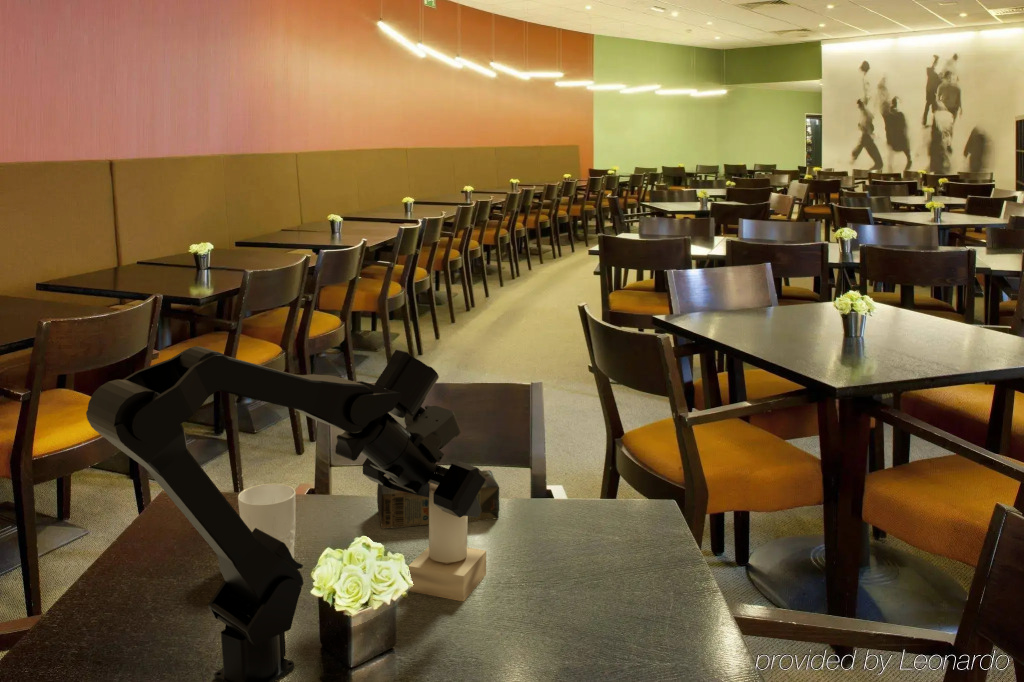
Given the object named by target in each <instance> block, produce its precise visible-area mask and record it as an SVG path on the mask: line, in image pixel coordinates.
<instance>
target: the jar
mask: <svg viewBox="0 0 1024 682" xmlns="http://www.w3.org/2000/svg"><path fill="white" fill-rule="evenodd" d="M437 487H438V485H436V484H433V483H431V484H430V486H429V525H428V547H429V557H430V558H431V559H432V560H435V561H438V562H442V563H444V564H449V563H452V562H457V561H461V560H463V559H465V558H466V556H467V547H468V524H469V523H468V516H462V517H460V518H459V517H457V516H454V515H451V514H449V513H447V512H444V511H442V509H440V508H439V507H437V506H436V505H435V504H434V499H433V493H434V492H435V490H436V488H437Z"/></svg>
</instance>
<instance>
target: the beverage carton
mask: <svg viewBox="0 0 1024 682" xmlns="http://www.w3.org/2000/svg"><path fill="white" fill-rule="evenodd" d="M481 471H482V472H483V473H484V474H485V477H486V481H485V482H484V484H483V486H482V487H481V489H480V491H479V492H478V494H477V496H476V497H477V500H478V502H479V505H480V508H481V513H480V514H479V516H478V517H470V516H468V522H469V521H470V522H479V521H478V520H481V521H487V520H486V519H491V520H494V519H493V518H499V519H500V515H499V514H500V486H499V484H498V482H497V481H496V477H495V476H494V473H493V471H492V470H485V469H483V470H481ZM440 475H441V474H440ZM442 476H443V475H442ZM428 483H429V484H431V482H428ZM376 493H377V494H376V495H377V496H376V498H377V499H376V500H377V501H376V503H377V510H378V511H377V512H378V518H379V522H380V526H381V529H382V528H384V529H395V528H394V527H397V528H405V527H406V528H408V527H419V526H429V498H428V497H423V496H419V495H415V494H411V493H406V492H402V491H398V490H393V489H390V488H387V487H385V486H383V485H380V484H378V483H377V491H376ZM391 527H393V528H391Z"/></svg>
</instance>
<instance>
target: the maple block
mask: <svg viewBox="0 0 1024 682" xmlns="http://www.w3.org/2000/svg"><path fill="white" fill-rule="evenodd" d="M407 567H409V570H410V574H411V578H412V581H413V584H414V585H413V587H411V588H410V589H409V588H408V592H413V593H418V594H424V595H428V596H433V597H438V598H439V597H440V598H445V599H449V600H454V601H459V602H465V601H466V600H467V598H468V597H469V596H470V595H471V593H472V592H473V591H474V590H475V589H476V588H477V586H478V585H479V584H480V583H479V582H482V581H483V579H484V578H485V577H486V576H487V550H486V549H479V548H474V547H468V546H467V556H466V558H465V559H463V560H461V561H457V562H452V563H449V564H444V563H442V562H438V561H435V560H432V559H431V558H430V557H429V546H428V547H426V549H425V550H423V551H422V552H421V553H420V554H419V555H418V556H416V558H415V559H414V560H413V561H412V562H411V563H410V564H409V565H408V566H407ZM484 576H485V577H484ZM483 577H484V578H483ZM482 578H483V579H482ZM478 583H479V584H478ZM474 588H475V589H474ZM473 589H474V590H473ZM469 594H470V595H469Z"/></svg>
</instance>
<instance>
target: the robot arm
mask: <svg viewBox="0 0 1024 682" xmlns="http://www.w3.org/2000/svg"><path fill="white" fill-rule="evenodd" d="M439 378H440V376H439V373H437V371H436V370H435V368H433V367H431V366H429V365H427V364H426V363H424V362H423V361H421V360H419V359H417V358H416V357H413V356H412V355H411V354H410V353H409V352H408V351H404V350H400V349H395V350H394V352H393V354H392V355H391V357H390V359H389V361H388V362H387V365H386V366H385V368H384V369H383V371H382V373H380V375H379V376H378V378H377V380H376V381H375V383H374V384H373V383H369V382H366V381H362V380H355V381H354V380H349V379H346V378H344V377H343V378H342V377H339V376H336V375H330V374H329V375H328V374H316V373H315V374H311V373H310V374H294V373H291V372H286V371H282V370H279V369H275V368H271V367H268V366H264V365H260V364H257V363H253V362H250V361H246V360H242V359H238V358H236V357H235V358H234V357H232V356H228V355H225V354H224V353H222V352H219V351H217V350H213V349H211V348H207V347H204V346H197V345H196V346H195V345H194V346H193V347H192V346H191V347H189V348H187V349H184V350H183V351H181V352H180V353H178V354H176V355H174V356H173V357H171V358H169V359H165V360H163V361H161V362H158V363H155V364H153V365H149V366H146V367H144V368H141V369H138V370H136V371H135V372H133V373H131V374H130V375H128V376H126V377H123V379H113V380H110V381H106V382H105V383H104V384H102V385H100V386H99V387H97V388H96V390H95V391H94V392H93V393H92V395H91V397H90V399H89V401H88V405H87V410H86V411H85V415H86V420H87V421H88V423H89V425H90V427H91V428H92V430H94V431H95V432H97V433H98V434H99V435H100V436H102V437H103V438H104V439H105V440H106V441H108V442H109V443H111V445H113V446H114V447H116V448H117V449H118V450H120V451H121V452H123V454H125V455H126V456H128V457H129V458H131V459H132V460H133V461H135V462H137V463H138V464H139V465H141V467H144V468H145V470H146V471H147V472H148V473H149V475H150V476H151V477H152V478H153V479H154V480H155V482H156V483H157V484H158V485H159V487H161V489H162V490H163V491H164V493H165V494H166V495H167V496H168V497H169V499H170V500H171V501H172V503H174V504H175V506H176V507H177V508H178V510H180V511H181V513H182V514H183V515H184V516H185V518H186V519H187V520H188V521H189V523H190V524H191V525H192V526H193V527H194V529H196V531H197V532H198V534H199V535H200V536H201V537H202V538H203V539H204V540H205V542H207V544H208V546H210V548H211V549H212V550H213V551H214V552H215V554H216V556H217V561H218V567H219V571H220V573H221V575H222V577H223V581H222V583H221V584H220V586H219V587H218V589H217V590H216V592H215V593H214V595H213V596H212V597H211V599H210V601H209V602H208V604H207V606H208V609H209V610H210V613H211V615H212V616H213V618H214V619H216V620H219V621H221V622H222V623H223V624H224V625H225V628H224V629H223V630H221V631H220V638H221V641H220V642H221V652H222V668H220V669H219V670H217V671H216V672H214V674H213V679H214V680H216V681H218V682H277V681H278V680H279V679H280V678H282V677H283V676H285V675H286V674H287V673H289V672H290V671H292V670H293V669H294V668H295V667H296V666H295V665H296V663H295V662H294V661H293V660H290V659H287V658H285V657H286V656H287V655H286V654H287V652H286V651H287V650H286V634H285V632H286V633H287V632H288V631H290V630H291V628H292V624H293V621H294V617H295V613H296V609H297V606H298V601H299V597H300V595H301V592H302V589H303V586H304V584H305V583H304V582H305V581H304V578H303V575H302V572H301V571H300V569H302V568H303V566H304V565H303V564H301V563H300V562H298V561H296V560H295V558H294V559H293V557H292V555H291V553H290V551H289V549H288V547H287V546H286V545H285V543H283V542H281V541H280V540H278V539H276V538H274V537H272V536H270V535H268V534H267V533H265V532H263V531H261V530H259V529H257V528H255V529H254V530H253V532H251V530H250V529H249V528H248V526H247V525H246V524H245V523H244V521H243V520H242V519H241V518H240V514H238V512H237V511H236V510H235V508H234V507H233V506H232V504H231V503H230V502H229V501H228V499H227V498H226V497H225V496H224V495H223V493H222V492H221V490H220V489H219V488H218V487H217V485H216V484H215V483H214V481H213V480H212V479H211V478H210V476H209V475H208V474H207V473H206V471H205V470H204V469H203V468H202V467H201V465H200V464H199V463H198V461H197V460H196V459H195V458H194V457H195V456H193V455H192V453H191V452H190V450H189V448H188V444H187V438H186V431H185V428H184V426H183V423H184V422H186V421H188V420H189V419H190V418H192V417H193V416H194V415H195V414H196V413H197V411H198V410H199V409H200V408H201V407H202V406H203V405H204V403H205V402H206V401H207V400H208V399H209V397H210V396H213V395H214V394H215V393H216V392H223V393H227V394H230V395H235V396H240V397H243V398H248V399H251V400H252V399H253V400H256V401H259V402H260V401H261V402H263V403H264V402H265V403H268V404H272V405H277V406H281V407H285V408H289V409H293V410H295V411H297V412H298V413H300V414H302V415H304V416H307V417H308V418H310V419H312V420H315V421H317V422H319V423H323V424H325V425H328V426H331V427H333V428H336V429H339V430H342V431H344V432H343V433H341V434H337V436H336V441H337V442H336V445H335V451H334V452H335V453H334V454H335V455H337V456H340V457H342V458H344V459H345V458H346V459H347V460H350V461H352V462H353V461H354V462H355V461H357V460H358V458H359V456H360V455H361V454H362V455H363V456H364V457H366V459H365V460H364V462H363V463H362V474H363V475H364V476H365V477H366V478H367V479H369V480H370V481H372V482H374V483H376V484H377V485H378V484H380V485H383V486H385V487H387V488H390V489H393V490H398V491H402V492H406V493H411V494H415V495H419V496H423V497H428V498H429V486H430V484H429V483H428V482H431V483H433V484H436V485H438V487H437V488H436V490H435V492H434V493H433V499H434V504H435V505H436V506H437V507H439V508H440V509H442V511H444V512H447V513H449V514H451V515H454V516H457V517H459V518H460V517H462V516H470V517H478V516H479V514H480V513H481V508H480V505H479V502H478V500H477V497H476V496H477V494H478V492H479V491H480V489H481V487H482V486H483V484H484V482H485V481H486V477H485V474H484V473H483V472H482V471H483V470H481V469H480V468H479V467H477V466H474V465H471V464H469V463H466V462H462V461H461V460H460V461H456V462H453V463H451V464H450V466H449V468H448V467H444V466H441V465H439V464H437V463H440V462H441V460H442V459H443V457H444V455H445V454H444V453H443V451H441V449H443V448H445V446H447V445H448V444H449V443H450V442H452V440H453V439H454V438H456V437H458V436H459V435H460V434H461V432H462V430H461V427H460V425H459V423H458V419H457V417H456V414H455V413H454V411H453V410H451V409H449V408H444V407H442V406H438V405H431V406H430V405H427V404H426V405H425V406H424V407H422V405H423V403H424V401H425V400H426V399H427V397H428V395H429V394H430V393H431V391H432V390H433V388H434V386H435V384H436V383H437V382H438V380H439ZM394 416H395V417H398V418H401V419H404V424H405V425H406V426H405V427H404V426H403V425H402V423H400V422H399V421H398V420H397V419H396V418H394ZM440 474H441V475H440ZM442 475H443V476H442Z"/></svg>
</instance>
